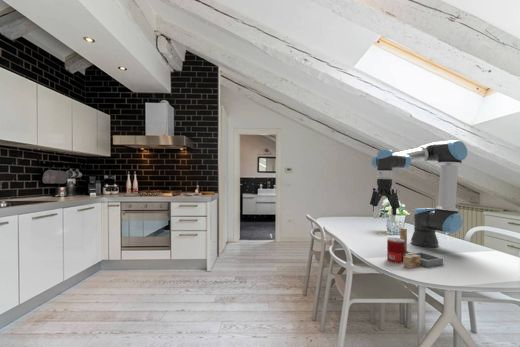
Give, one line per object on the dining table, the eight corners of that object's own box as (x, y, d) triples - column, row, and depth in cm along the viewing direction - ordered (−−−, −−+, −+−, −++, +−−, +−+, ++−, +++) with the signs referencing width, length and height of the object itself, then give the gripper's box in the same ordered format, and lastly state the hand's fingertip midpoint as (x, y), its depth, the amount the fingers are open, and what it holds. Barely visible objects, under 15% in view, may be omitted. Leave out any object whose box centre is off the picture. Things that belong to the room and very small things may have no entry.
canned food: (406, 263, 140) (406, 241, 140) (389, 262, 142) (389, 240, 142) (402, 259, 148) (402, 238, 148) (385, 258, 149) (385, 237, 149)
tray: (420, 257, 150) (420, 252, 150) (443, 264, 139) (443, 258, 139) (404, 260, 145) (404, 254, 145) (426, 267, 134) (426, 261, 134)
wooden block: (414, 264, 139) (415, 254, 139) (420, 266, 136) (420, 255, 136) (403, 266, 136) (403, 255, 136) (408, 268, 133) (409, 257, 133)
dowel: (402, 255, 154) (403, 228, 154) (408, 257, 151) (408, 229, 151) (398, 256, 153) (399, 228, 153) (403, 257, 150) (404, 229, 150)
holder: (402, 253, 157) (402, 249, 157) (415, 257, 150) (415, 253, 150) (391, 255, 154) (391, 250, 154) (404, 259, 147) (404, 254, 147)
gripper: (363, 178, 161) (362, 216, 161) (397, 179, 140) (397, 223, 140) (373, 178, 164) (372, 216, 164) (408, 179, 143) (407, 222, 143)
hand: (384, 219), depth 152 cm, fingers open, 10 cm apart
